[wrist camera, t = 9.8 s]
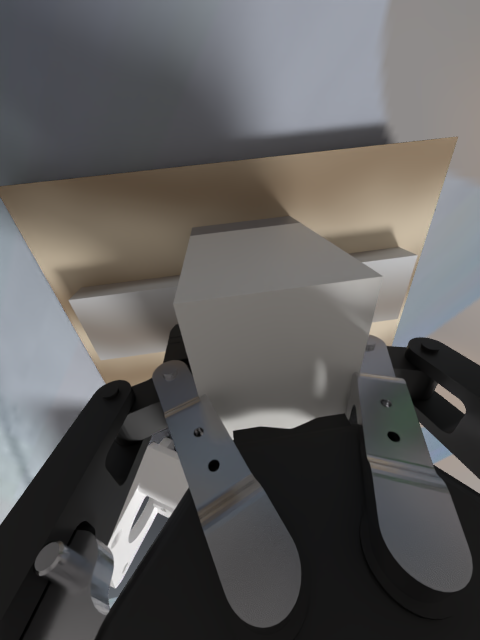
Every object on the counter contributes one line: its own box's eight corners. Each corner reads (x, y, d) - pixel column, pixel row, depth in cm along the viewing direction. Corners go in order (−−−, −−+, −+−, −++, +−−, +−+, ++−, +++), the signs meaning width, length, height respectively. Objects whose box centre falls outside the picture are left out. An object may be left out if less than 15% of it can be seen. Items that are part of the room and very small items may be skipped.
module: (192, 227, 12) (172, 303, 6) (289, 215, 13) (383, 276, 6) (217, 360, 17) (223, 485, 11) (287, 350, 17) (336, 466, 11)
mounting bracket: (178, 392, 23) (81, 527, 14) (242, 417, 22) (181, 581, 13) (176, 462, 29) (107, 585, 20) (225, 483, 28) (176, 625, 19)
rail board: (10, 185, 11) (-35, 190, 9) (441, 138, 12) (489, 133, 10) (118, 389, 19) (107, 417, 17) (379, 351, 20) (399, 373, 18)
